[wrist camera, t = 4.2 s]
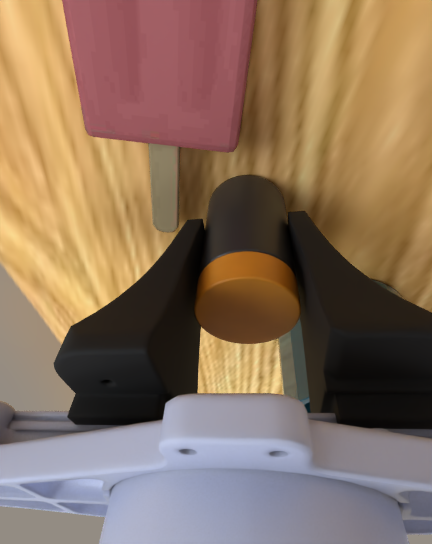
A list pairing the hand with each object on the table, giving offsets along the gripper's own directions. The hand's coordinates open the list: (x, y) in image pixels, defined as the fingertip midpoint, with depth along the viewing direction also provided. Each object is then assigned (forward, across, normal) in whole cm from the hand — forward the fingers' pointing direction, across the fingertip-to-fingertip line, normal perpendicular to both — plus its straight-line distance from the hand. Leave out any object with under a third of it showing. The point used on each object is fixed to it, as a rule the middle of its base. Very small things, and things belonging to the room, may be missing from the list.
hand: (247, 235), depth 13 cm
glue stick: (+2, 0, 0) cm, 2 cm away
